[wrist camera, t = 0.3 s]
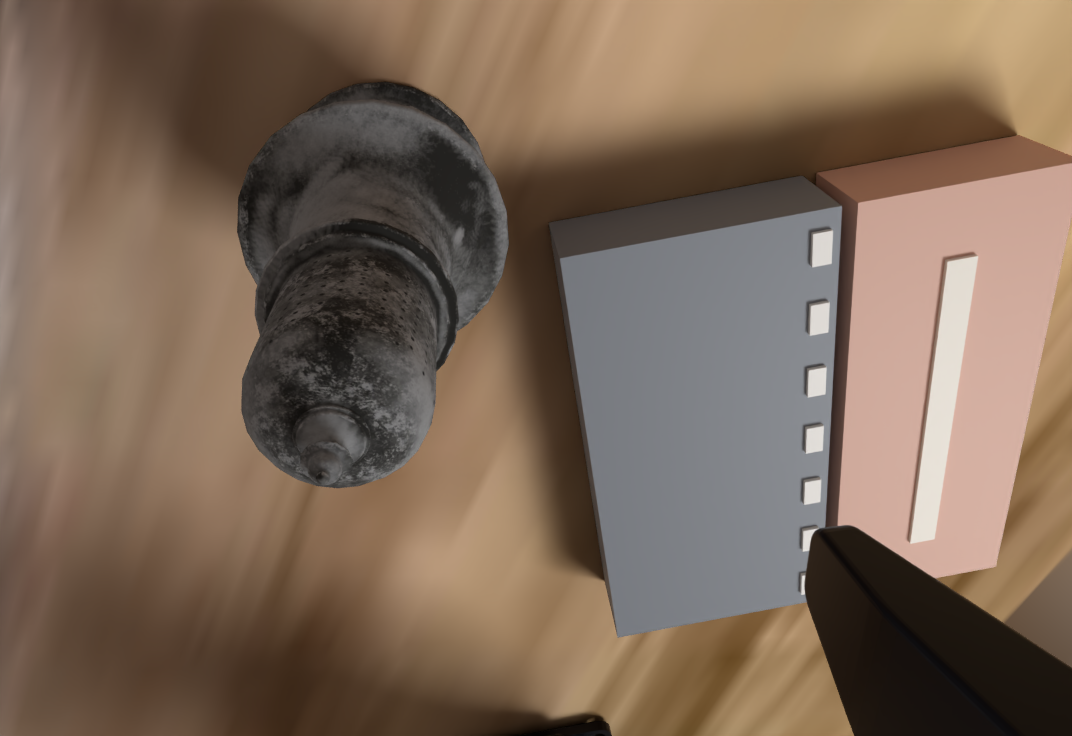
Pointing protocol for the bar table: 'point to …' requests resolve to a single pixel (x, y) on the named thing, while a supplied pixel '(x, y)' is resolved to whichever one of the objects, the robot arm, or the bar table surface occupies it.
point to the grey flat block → (704, 394)
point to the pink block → (941, 341)
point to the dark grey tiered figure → (362, 277)
